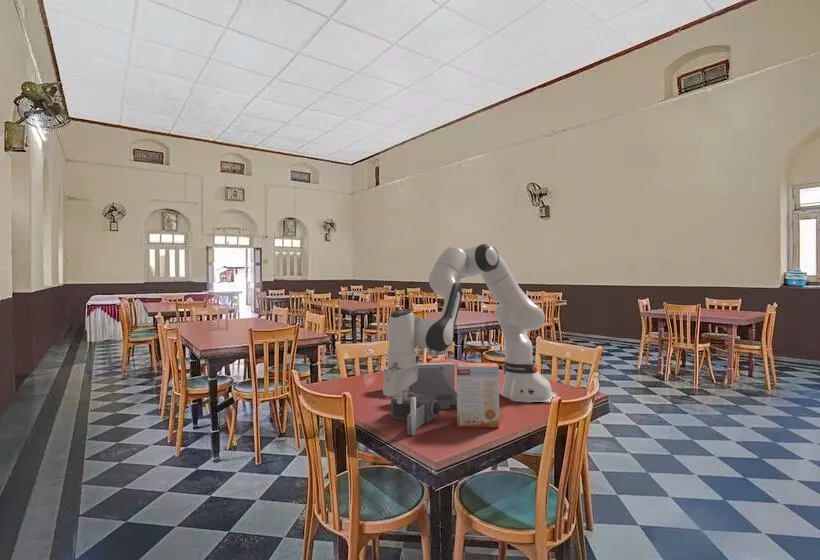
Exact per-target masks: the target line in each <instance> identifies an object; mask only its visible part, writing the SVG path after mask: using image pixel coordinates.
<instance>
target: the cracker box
mask: <svg viewBox="0 0 820 560" xmlns="http://www.w3.org/2000/svg"><path fill="white" fill-rule="evenodd" d="M499 375H500V366H499V365H498V364H497V363H495V362H492V363H490V362H475V363H474V362H457V363H456V393H457V408H456V423H457V424H456V425H457V428H484V429H485V428H486V429H487V428H488V429H489V428H491V429H494V428H495V429H499V428H500V376H499Z"/></svg>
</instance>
